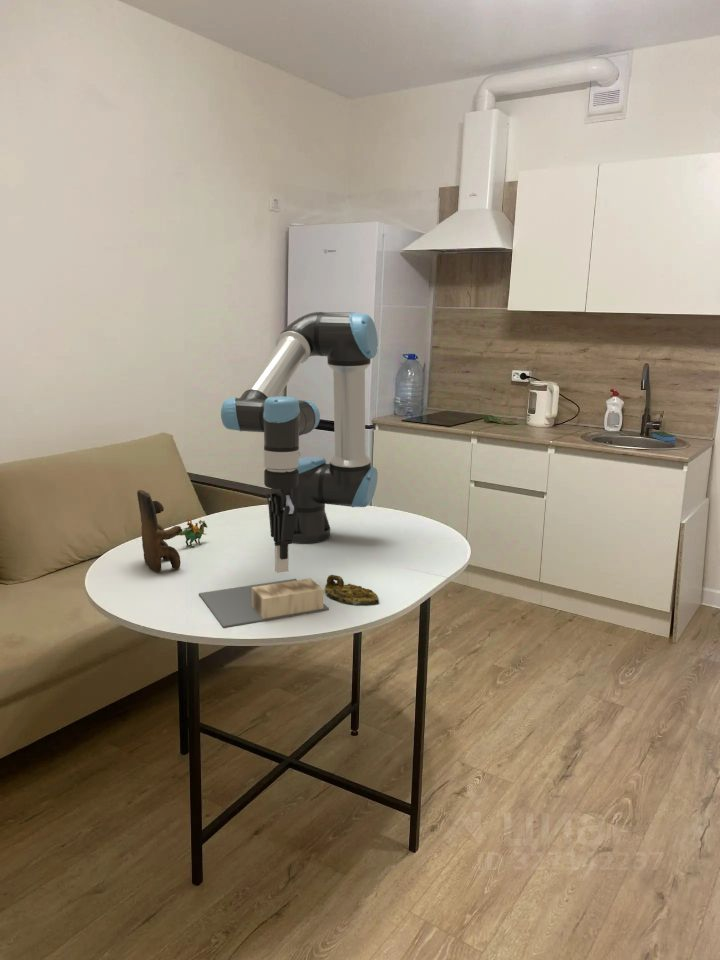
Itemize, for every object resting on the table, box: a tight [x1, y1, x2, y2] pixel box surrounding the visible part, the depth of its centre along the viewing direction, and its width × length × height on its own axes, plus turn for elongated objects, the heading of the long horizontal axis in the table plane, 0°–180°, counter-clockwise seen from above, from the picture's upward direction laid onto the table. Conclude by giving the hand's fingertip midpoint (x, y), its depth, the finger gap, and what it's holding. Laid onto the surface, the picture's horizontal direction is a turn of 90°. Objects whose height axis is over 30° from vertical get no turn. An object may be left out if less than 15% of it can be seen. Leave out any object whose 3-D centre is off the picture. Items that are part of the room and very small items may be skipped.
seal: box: [324, 574, 380, 606], centre depth 169 cm, size 9×5×15 cm
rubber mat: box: [198, 578, 330, 629], centre depth 165 cm, size 24×20×1 cm
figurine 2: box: [176, 518, 208, 548], centre depth 202 cm, size 3×12×8 cm, turn 143°
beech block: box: [252, 578, 325, 619], centre depth 161 cm, size 8×4×14 cm
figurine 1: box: [136, 489, 184, 573], centre depth 184 cm, size 13×8×20 cm, turn 37°
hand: (281, 571), depth 163 cm, fingers closed
